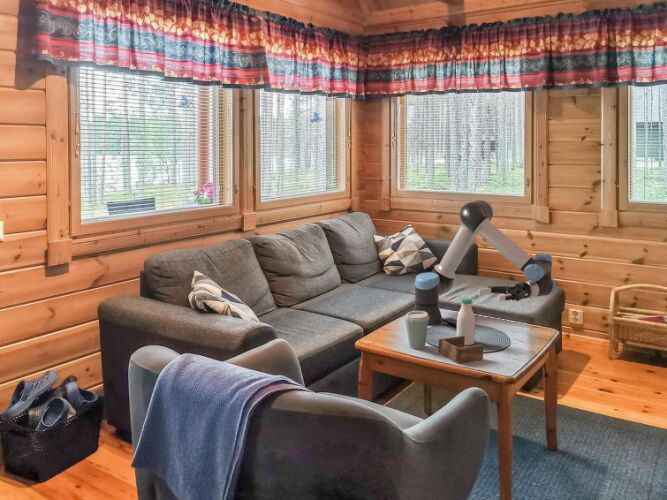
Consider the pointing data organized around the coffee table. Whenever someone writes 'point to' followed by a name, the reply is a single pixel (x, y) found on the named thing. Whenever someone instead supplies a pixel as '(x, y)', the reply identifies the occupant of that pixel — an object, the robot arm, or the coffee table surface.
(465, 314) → the milk bottle
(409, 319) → the disposable coffee cup
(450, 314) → the coffee table surface
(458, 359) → the wooden open tray
